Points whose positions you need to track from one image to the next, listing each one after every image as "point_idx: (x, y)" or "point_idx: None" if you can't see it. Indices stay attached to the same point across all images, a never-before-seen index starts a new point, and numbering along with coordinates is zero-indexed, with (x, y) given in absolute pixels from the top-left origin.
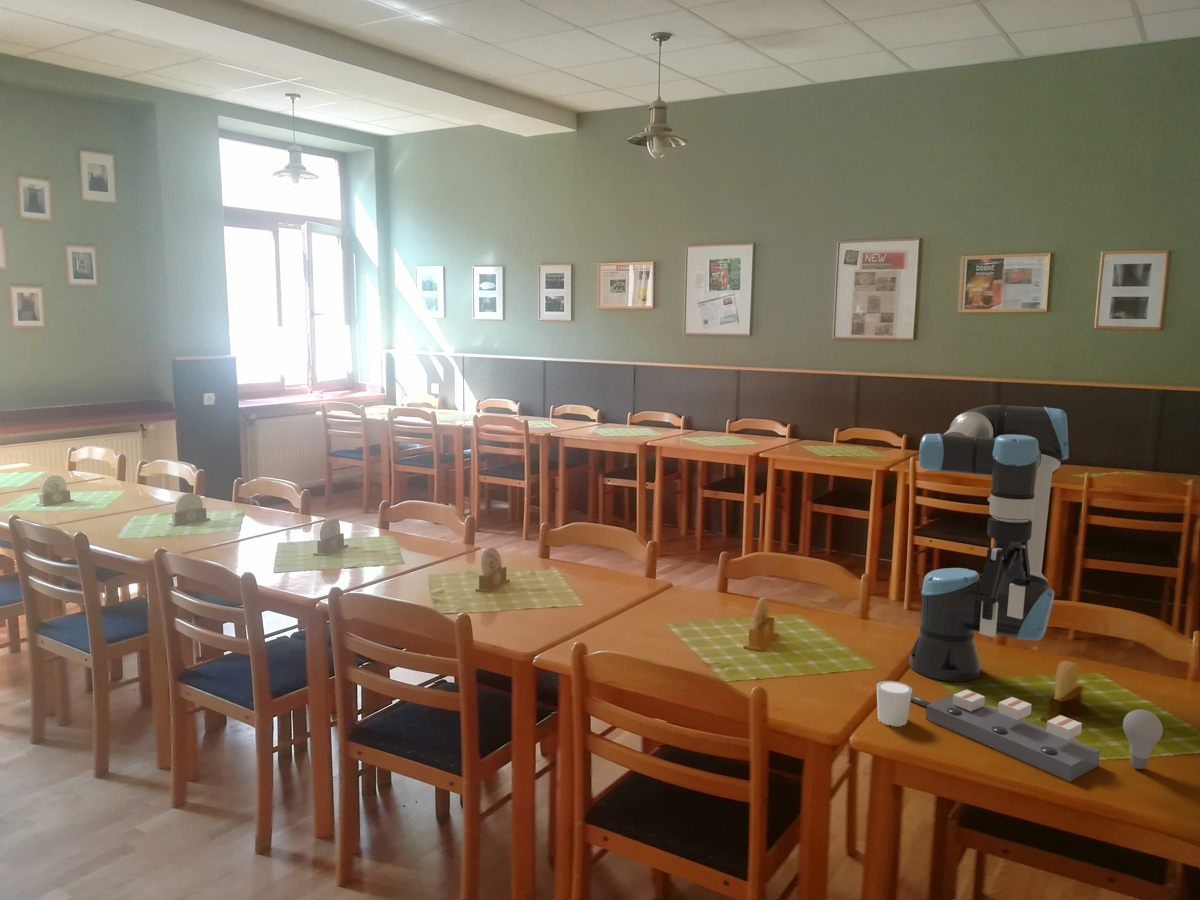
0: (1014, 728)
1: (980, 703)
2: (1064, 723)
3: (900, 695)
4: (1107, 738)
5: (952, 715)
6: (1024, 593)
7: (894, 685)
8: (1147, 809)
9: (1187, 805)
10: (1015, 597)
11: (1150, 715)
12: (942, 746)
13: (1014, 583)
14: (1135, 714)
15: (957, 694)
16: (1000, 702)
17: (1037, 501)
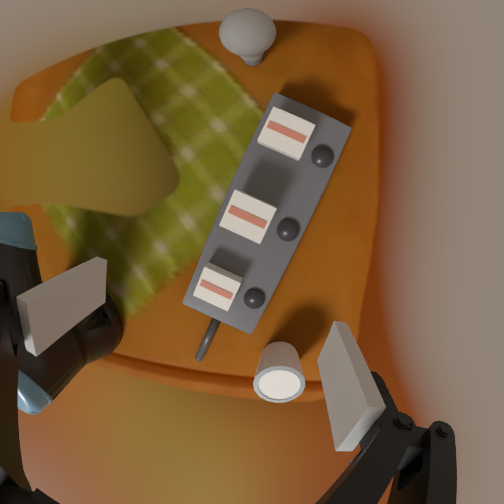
0: None
1: (217, 268)
2: (294, 131)
3: (301, 374)
4: (176, 98)
5: (268, 299)
6: (39, 286)
7: (270, 386)
8: (360, 60)
9: (322, 25)
10: (63, 310)
11: (252, 12)
12: (327, 292)
13: (21, 339)
14: (256, 29)
15: (222, 305)
16: (258, 240)
17: None
